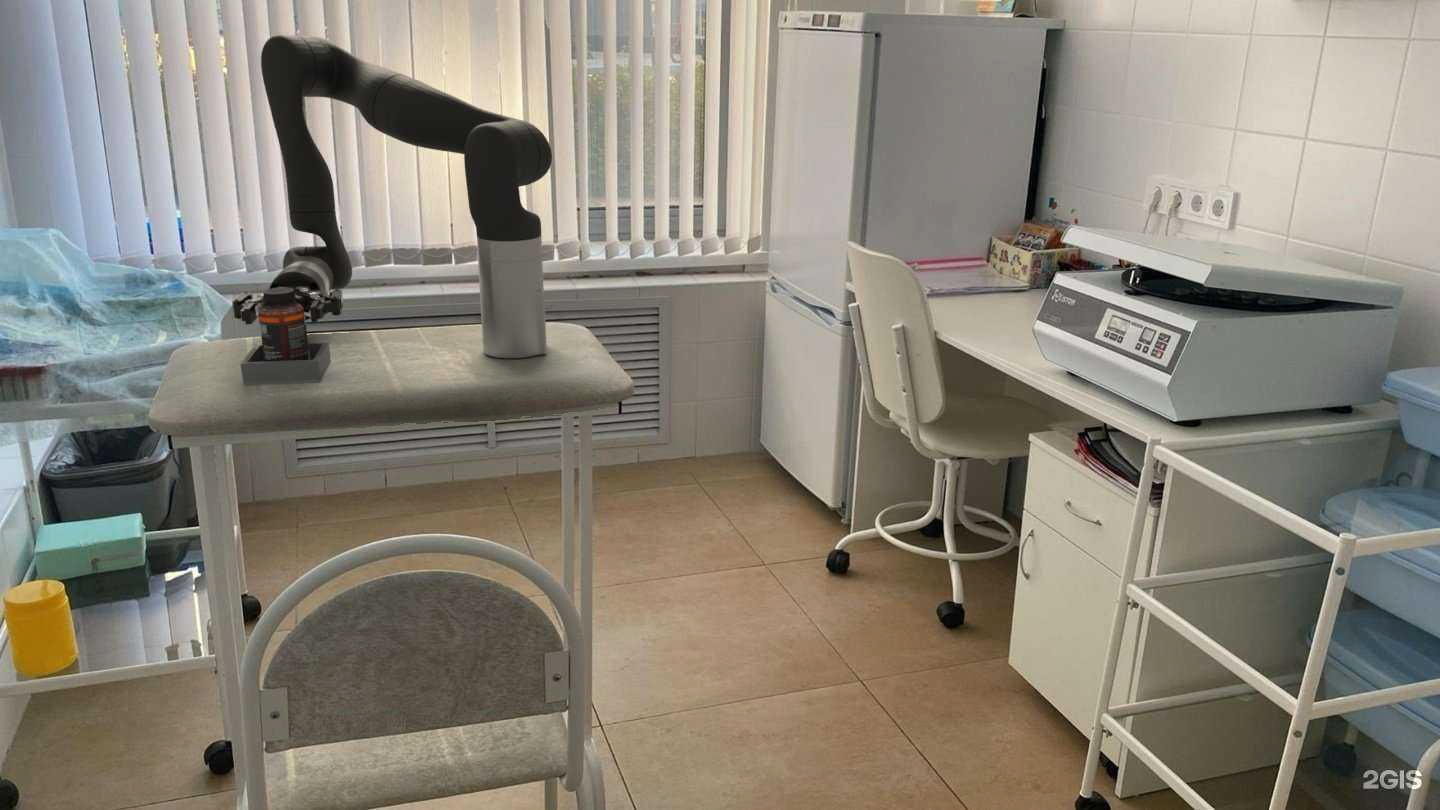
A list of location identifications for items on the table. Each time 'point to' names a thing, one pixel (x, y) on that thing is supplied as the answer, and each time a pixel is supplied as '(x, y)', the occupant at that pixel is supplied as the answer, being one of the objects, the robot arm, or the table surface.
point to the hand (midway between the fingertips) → (280, 316)
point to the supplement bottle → (283, 326)
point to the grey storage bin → (286, 367)
